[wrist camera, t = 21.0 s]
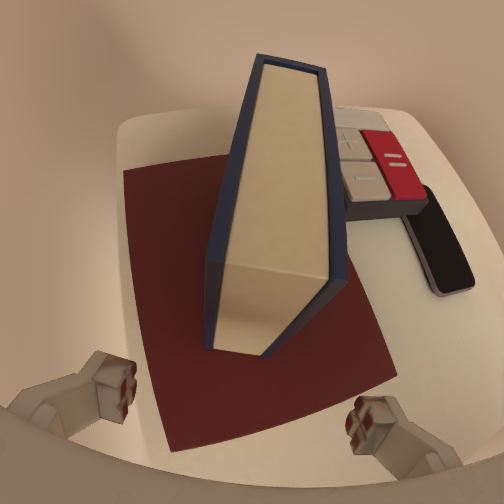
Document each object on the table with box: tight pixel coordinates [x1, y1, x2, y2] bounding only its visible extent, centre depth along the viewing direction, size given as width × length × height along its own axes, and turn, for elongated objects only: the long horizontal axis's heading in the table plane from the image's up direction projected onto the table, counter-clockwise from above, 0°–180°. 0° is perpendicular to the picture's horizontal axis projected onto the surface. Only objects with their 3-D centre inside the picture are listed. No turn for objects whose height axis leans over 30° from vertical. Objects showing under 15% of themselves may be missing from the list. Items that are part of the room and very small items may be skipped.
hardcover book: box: [204, 54, 349, 359], centre depth 17 cm, size 4×13×12 cm, turn 174°
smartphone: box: [402, 184, 475, 297], centre depth 32 cm, size 7×1×15 cm
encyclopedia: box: [123, 154, 397, 452], centre depth 24 cm, size 22×16×4 cm
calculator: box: [333, 108, 429, 221], centre depth 33 cm, size 11×4×15 cm
